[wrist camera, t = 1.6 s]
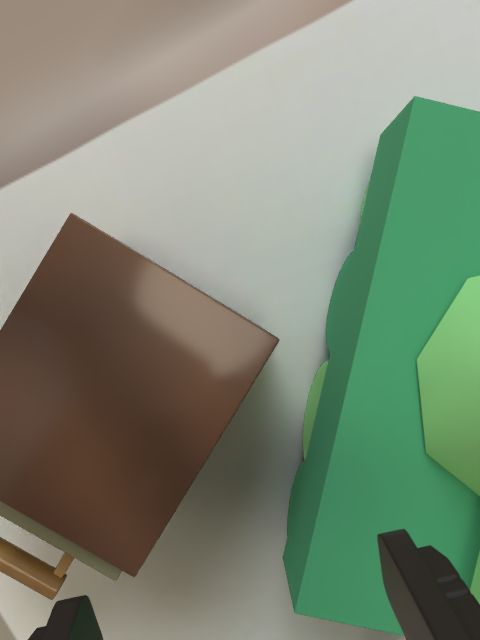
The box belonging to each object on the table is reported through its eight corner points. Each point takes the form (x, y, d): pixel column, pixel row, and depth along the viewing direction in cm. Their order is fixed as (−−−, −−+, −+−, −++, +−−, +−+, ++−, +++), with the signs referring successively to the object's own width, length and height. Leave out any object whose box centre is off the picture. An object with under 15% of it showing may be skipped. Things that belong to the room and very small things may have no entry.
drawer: (106, 571, 30) (65, 663, 23) (-28, 494, 30) (-117, 562, 22) (239, 353, 30) (243, 371, 22) (106, 273, 30) (63, 262, 22)
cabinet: (162, 494, 31) (134, 578, 22) (17, 410, 31) (-77, 458, 21) (263, 328, 31) (280, 339, 21) (119, 241, 31) (70, 212, 21)
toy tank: (267, 841, 20) (451, 54, 19) (252, 635, 32) (363, 153, 31) (647, 913, 20) (845, 151, 19) (489, 683, 32) (605, 211, 32)
